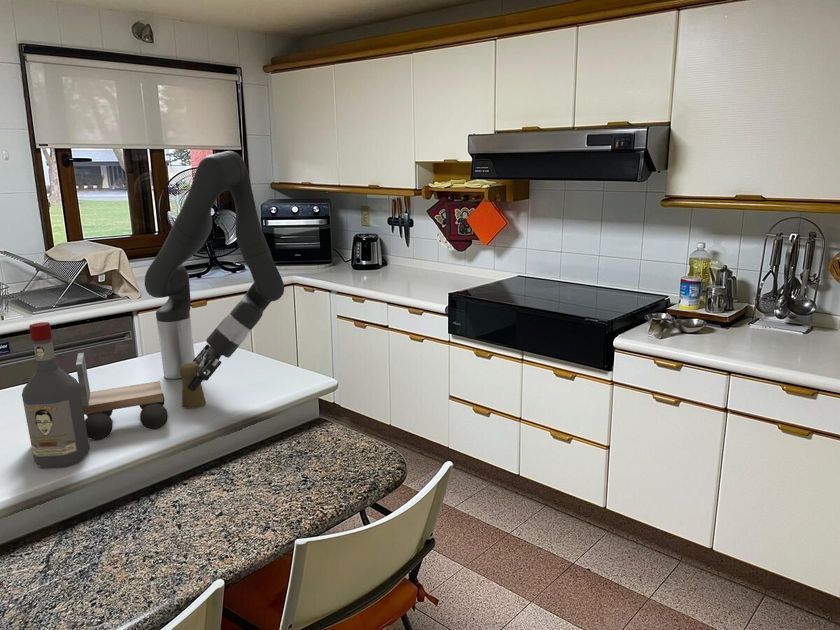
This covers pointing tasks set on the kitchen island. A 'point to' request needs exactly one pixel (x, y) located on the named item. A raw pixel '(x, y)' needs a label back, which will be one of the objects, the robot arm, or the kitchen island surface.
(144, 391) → the trolley
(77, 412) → the liquor
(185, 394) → the cork
